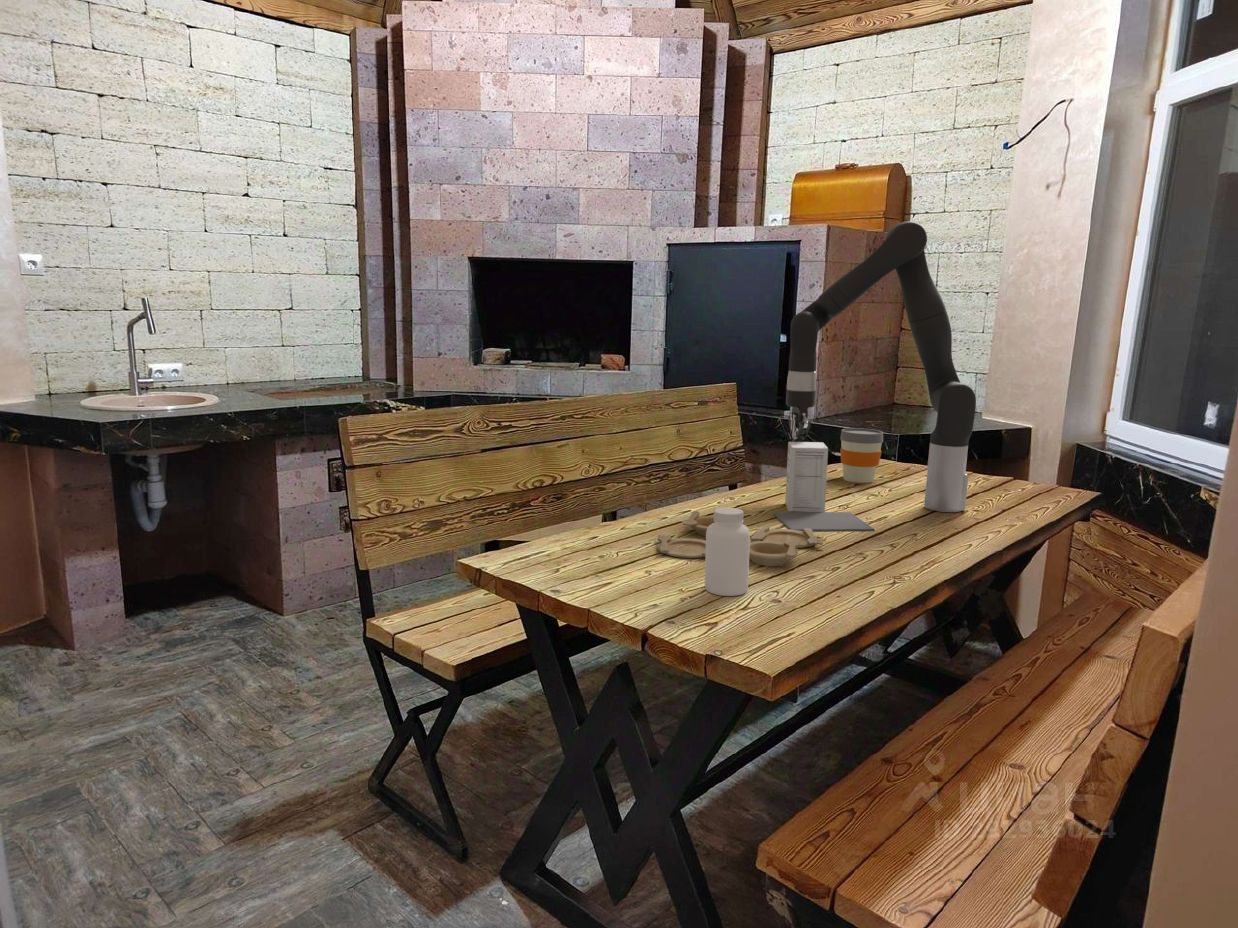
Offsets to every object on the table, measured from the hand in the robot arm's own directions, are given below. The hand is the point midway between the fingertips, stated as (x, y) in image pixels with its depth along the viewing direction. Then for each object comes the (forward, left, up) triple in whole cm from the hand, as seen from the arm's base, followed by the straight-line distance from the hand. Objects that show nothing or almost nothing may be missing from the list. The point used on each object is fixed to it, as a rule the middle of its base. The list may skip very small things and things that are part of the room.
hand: (797, 452), depth 219 cm
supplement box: (0, +9, -13) cm, 16 cm away
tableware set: (+25, +42, -14) cm, 51 cm away
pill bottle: (+34, +70, -13) cm, 79 cm away
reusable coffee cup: (-28, -26, -13) cm, 40 cm away
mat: (0, +23, -13) cm, 26 cm away
